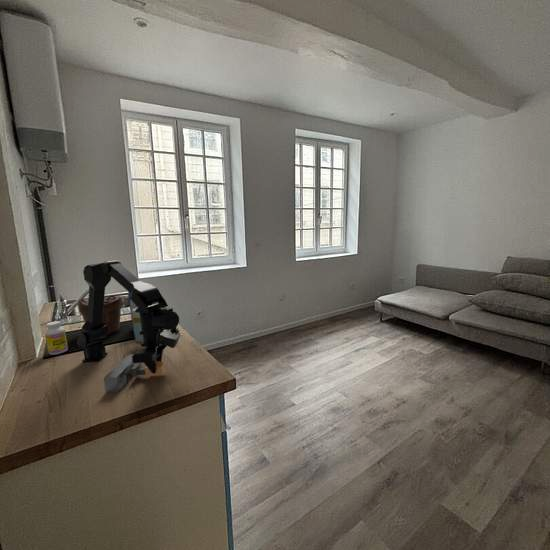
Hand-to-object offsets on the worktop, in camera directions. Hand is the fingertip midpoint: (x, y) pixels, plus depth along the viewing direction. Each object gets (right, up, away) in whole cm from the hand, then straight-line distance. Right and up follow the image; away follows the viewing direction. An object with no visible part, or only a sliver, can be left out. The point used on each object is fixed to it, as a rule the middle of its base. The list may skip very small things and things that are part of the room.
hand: (156, 369), depth 96 cm
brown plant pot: (-45, +4, +47) cm, 65 cm away
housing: (-11, -3, 0) cm, 11 cm away
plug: (-2, -1, 0) cm, 3 cm away
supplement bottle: (-51, -1, +24) cm, 57 cm away
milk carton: (-27, +4, +46) cm, 54 cm away
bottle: (-19, +2, +32) cm, 37 cm away
